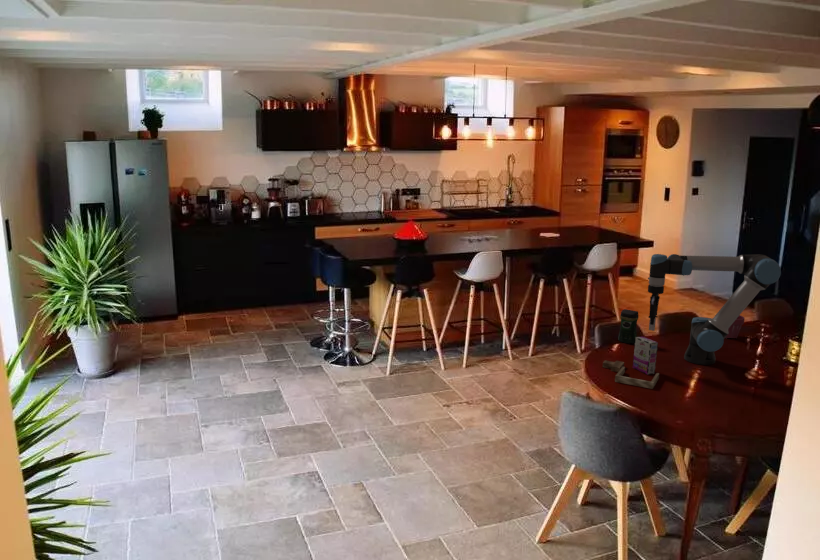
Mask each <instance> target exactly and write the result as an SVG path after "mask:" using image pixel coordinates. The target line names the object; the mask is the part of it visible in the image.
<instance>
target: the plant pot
mask: <svg viewBox="0 0 820 560" xmlns="http://www.w3.org/2000/svg"><path fill="white" fill-rule="evenodd" d="M744 324H745V316H742V315H741V314H740V315H739V316H738V318H737V319H736V320H735V321H734V322H733V324H732V325H731V326H730V327H729V328H728V332H729V334H728V335H727V336H726V337H725V338H724V339H727V338H736V339H738V336H739V334H740V331H741V328H742V327H743V326H742V325H744Z"/></svg>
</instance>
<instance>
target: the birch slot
mask: <svg viewBox="0 0 820 560" xmlns="http://www.w3.org/2000/svg"><path fill="white" fill-rule="evenodd" d="M625 373H626V367H625V366H624V367H622V368H621V369H620V371H619V372H616V374H615V376H614V382H615V383H621V384H625V385H630V386H636V387H641V388H646V389H650V390H653V389H654V388H655V386H656V385H657V382H658V381H659V380H660V373H659V372H655V375H654V376H653V378H652V379H651V381H650V380H644V379H638V378H633V377H628V376H624V375H625Z"/></svg>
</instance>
